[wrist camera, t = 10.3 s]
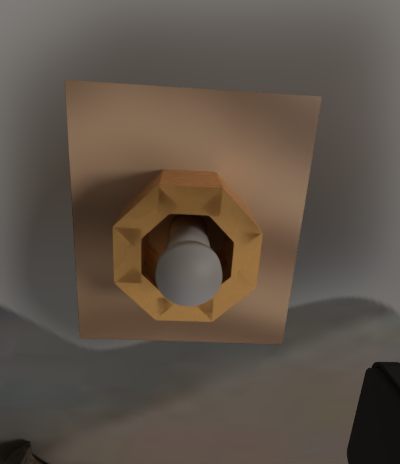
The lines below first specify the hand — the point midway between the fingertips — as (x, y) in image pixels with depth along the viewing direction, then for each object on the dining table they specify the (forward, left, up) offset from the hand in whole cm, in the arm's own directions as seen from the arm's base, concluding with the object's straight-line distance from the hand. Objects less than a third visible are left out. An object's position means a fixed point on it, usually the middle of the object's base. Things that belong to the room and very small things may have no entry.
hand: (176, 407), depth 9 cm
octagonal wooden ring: (+1, 0, -11) cm, 11 cm away
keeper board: (+1, 0, -12) cm, 12 cm away
